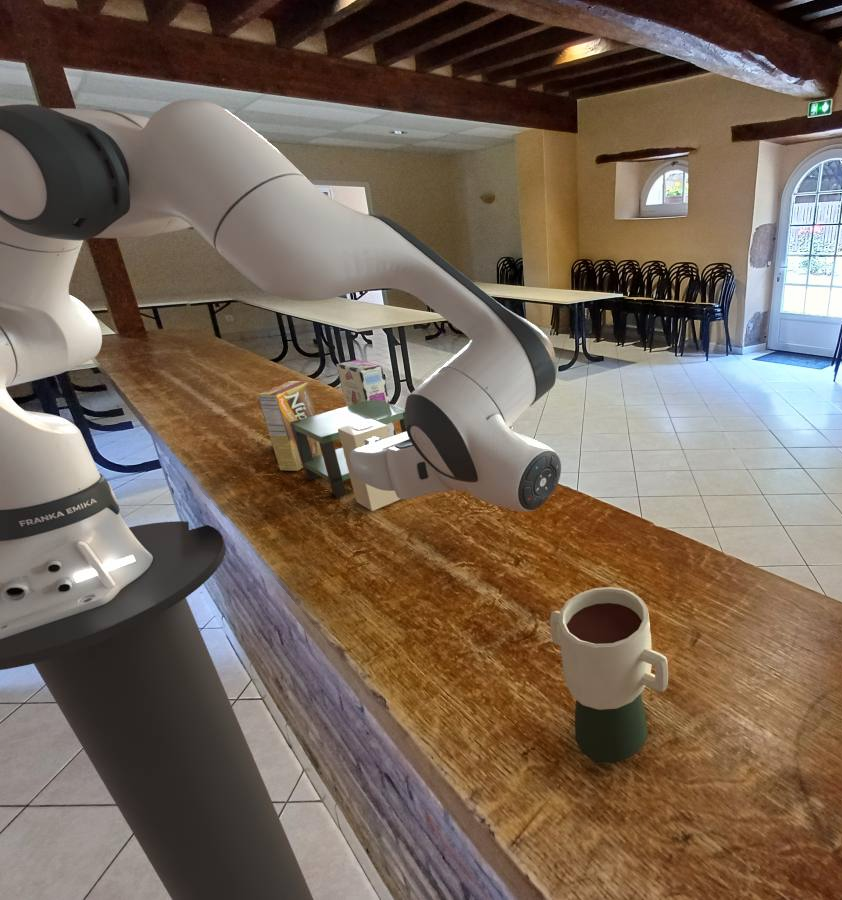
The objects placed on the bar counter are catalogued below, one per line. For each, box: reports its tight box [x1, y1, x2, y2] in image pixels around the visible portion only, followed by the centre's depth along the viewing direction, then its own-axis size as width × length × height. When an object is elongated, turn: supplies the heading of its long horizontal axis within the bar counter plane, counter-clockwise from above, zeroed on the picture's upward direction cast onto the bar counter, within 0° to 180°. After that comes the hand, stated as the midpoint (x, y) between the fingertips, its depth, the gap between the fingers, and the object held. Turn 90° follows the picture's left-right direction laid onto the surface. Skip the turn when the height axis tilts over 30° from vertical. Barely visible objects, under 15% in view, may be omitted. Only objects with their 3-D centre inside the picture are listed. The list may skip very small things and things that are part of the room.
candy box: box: [257, 380, 322, 472], centre depth 106 cm, size 9×4×15 cm, turn 171°
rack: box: [290, 399, 407, 498], centre depth 101 cm, size 16×13×11 cm
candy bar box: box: [335, 359, 397, 437], centre depth 116 cm, size 11×5×16 cm, turn 48°
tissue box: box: [338, 419, 401, 512], centre depth 89 cm, size 6×6×13 cm
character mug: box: [549, 586, 669, 764], centre depth 45 cm, size 11×7×13 cm, turn 56°
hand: (401, 432), depth 79 cm, fingers open, 8 cm apart
